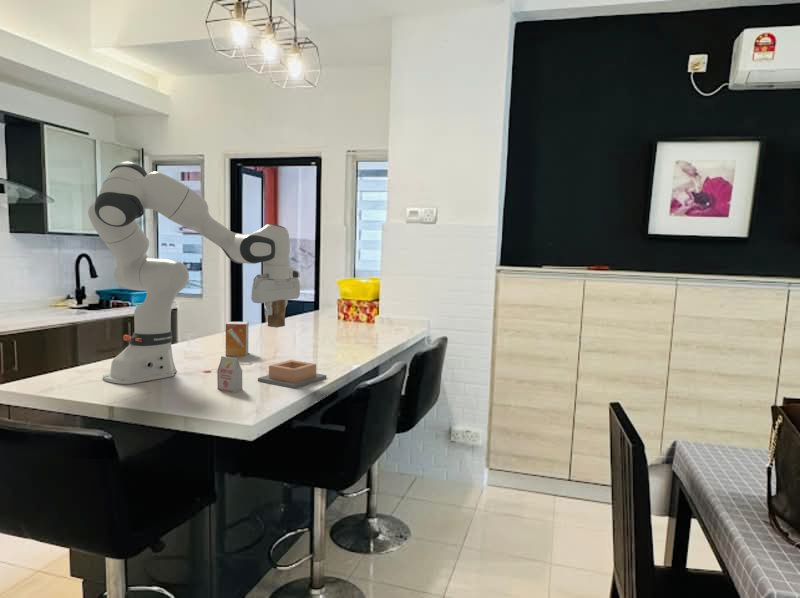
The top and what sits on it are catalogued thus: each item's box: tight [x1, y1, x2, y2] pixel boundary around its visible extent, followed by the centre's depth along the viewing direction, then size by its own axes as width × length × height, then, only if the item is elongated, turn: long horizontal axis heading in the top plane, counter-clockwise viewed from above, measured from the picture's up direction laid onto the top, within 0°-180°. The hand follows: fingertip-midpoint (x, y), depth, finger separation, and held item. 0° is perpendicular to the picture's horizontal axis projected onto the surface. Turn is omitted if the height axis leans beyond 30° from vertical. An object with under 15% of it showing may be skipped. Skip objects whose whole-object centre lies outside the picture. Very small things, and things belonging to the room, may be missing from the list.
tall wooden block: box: [267, 300, 286, 328], centre depth 177 cm, size 4×4×9 cm
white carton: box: [216, 355, 243, 394], centre depth 160 cm, size 4×7×10 cm, turn 60°
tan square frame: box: [257, 359, 327, 389], centre depth 174 cm, size 16×16×5 cm
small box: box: [225, 321, 249, 357], centre depth 211 cm, size 8×6×13 cm
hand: (276, 314), depth 177 cm, fingers closed on tall wooden block, 4 cm apart
